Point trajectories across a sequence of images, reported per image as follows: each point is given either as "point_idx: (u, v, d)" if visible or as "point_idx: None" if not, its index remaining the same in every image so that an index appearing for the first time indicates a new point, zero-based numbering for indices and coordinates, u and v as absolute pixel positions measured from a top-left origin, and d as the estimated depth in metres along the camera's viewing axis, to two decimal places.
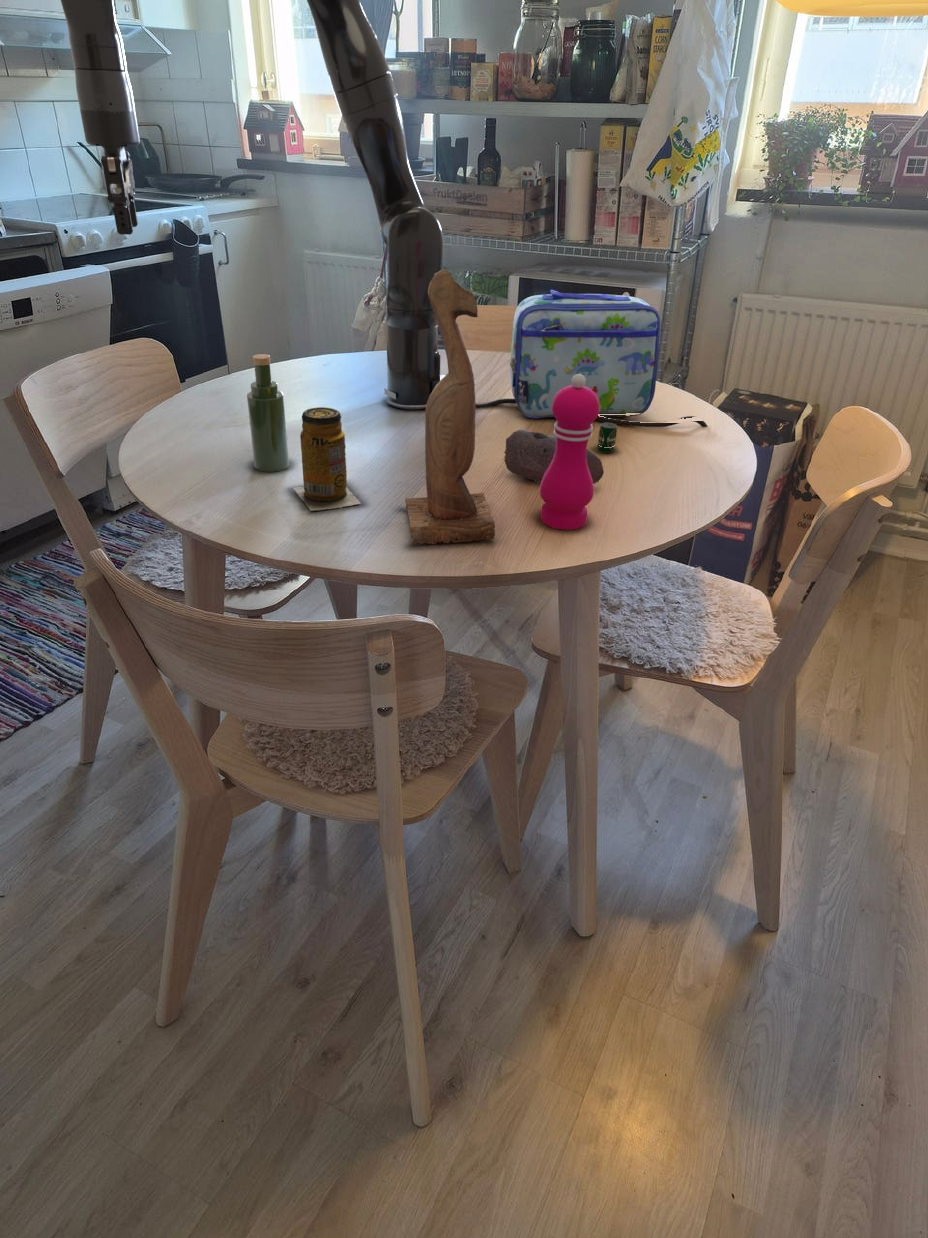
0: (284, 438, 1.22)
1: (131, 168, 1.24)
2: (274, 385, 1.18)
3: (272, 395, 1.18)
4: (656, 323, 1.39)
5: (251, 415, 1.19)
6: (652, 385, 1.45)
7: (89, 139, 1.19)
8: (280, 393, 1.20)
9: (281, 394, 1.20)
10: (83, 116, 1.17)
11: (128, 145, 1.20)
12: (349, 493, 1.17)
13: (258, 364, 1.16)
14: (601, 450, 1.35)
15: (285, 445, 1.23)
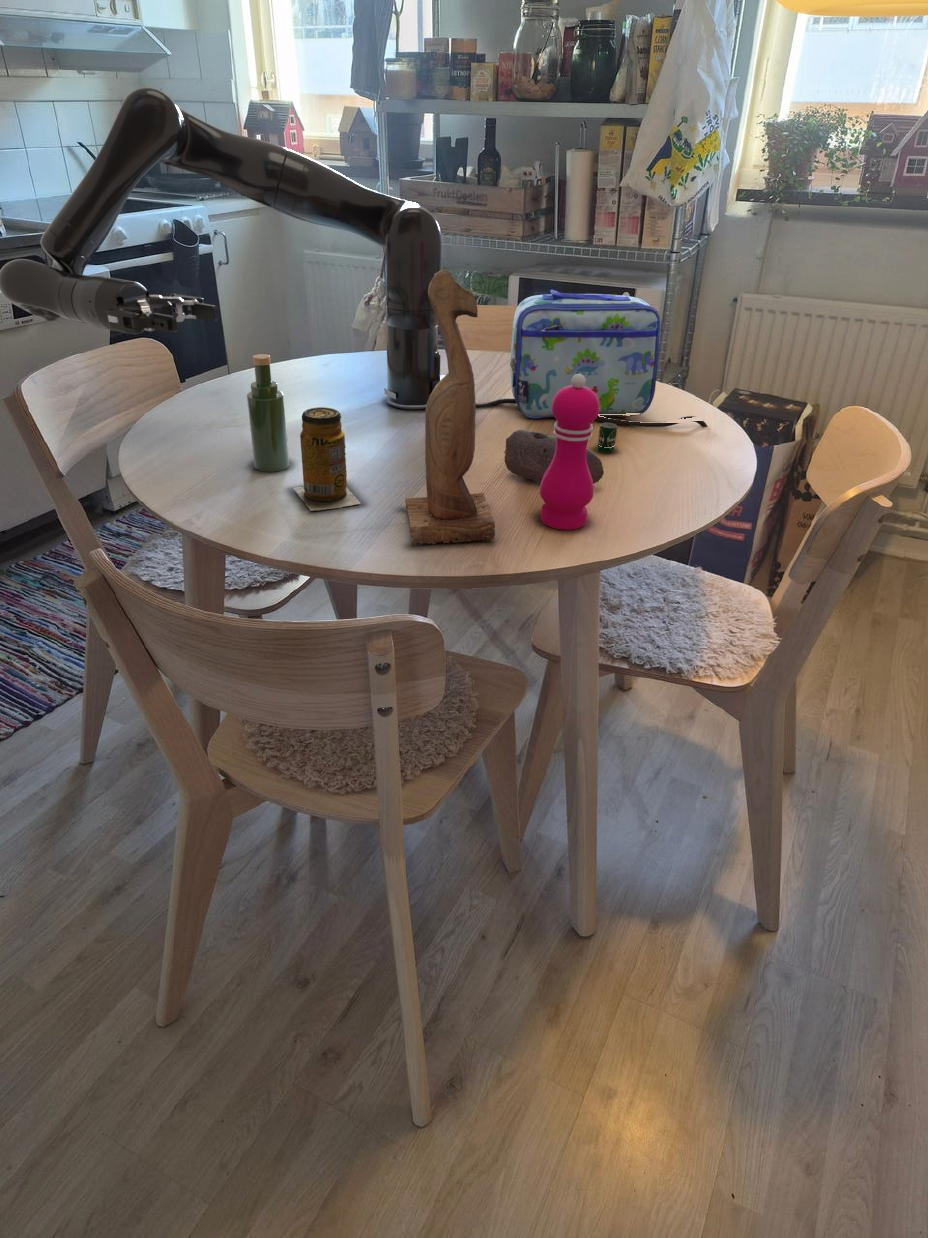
0: (284, 438, 1.22)
1: (154, 297, 1.21)
2: (274, 385, 1.18)
3: (272, 395, 1.18)
4: (656, 323, 1.39)
5: (251, 415, 1.19)
6: (652, 385, 1.45)
7: (124, 330, 1.23)
8: (280, 393, 1.20)
9: (281, 394, 1.20)
10: (112, 329, 1.24)
11: (119, 294, 1.19)
12: (349, 493, 1.17)
13: (258, 364, 1.16)
14: (601, 450, 1.35)
15: (285, 445, 1.23)
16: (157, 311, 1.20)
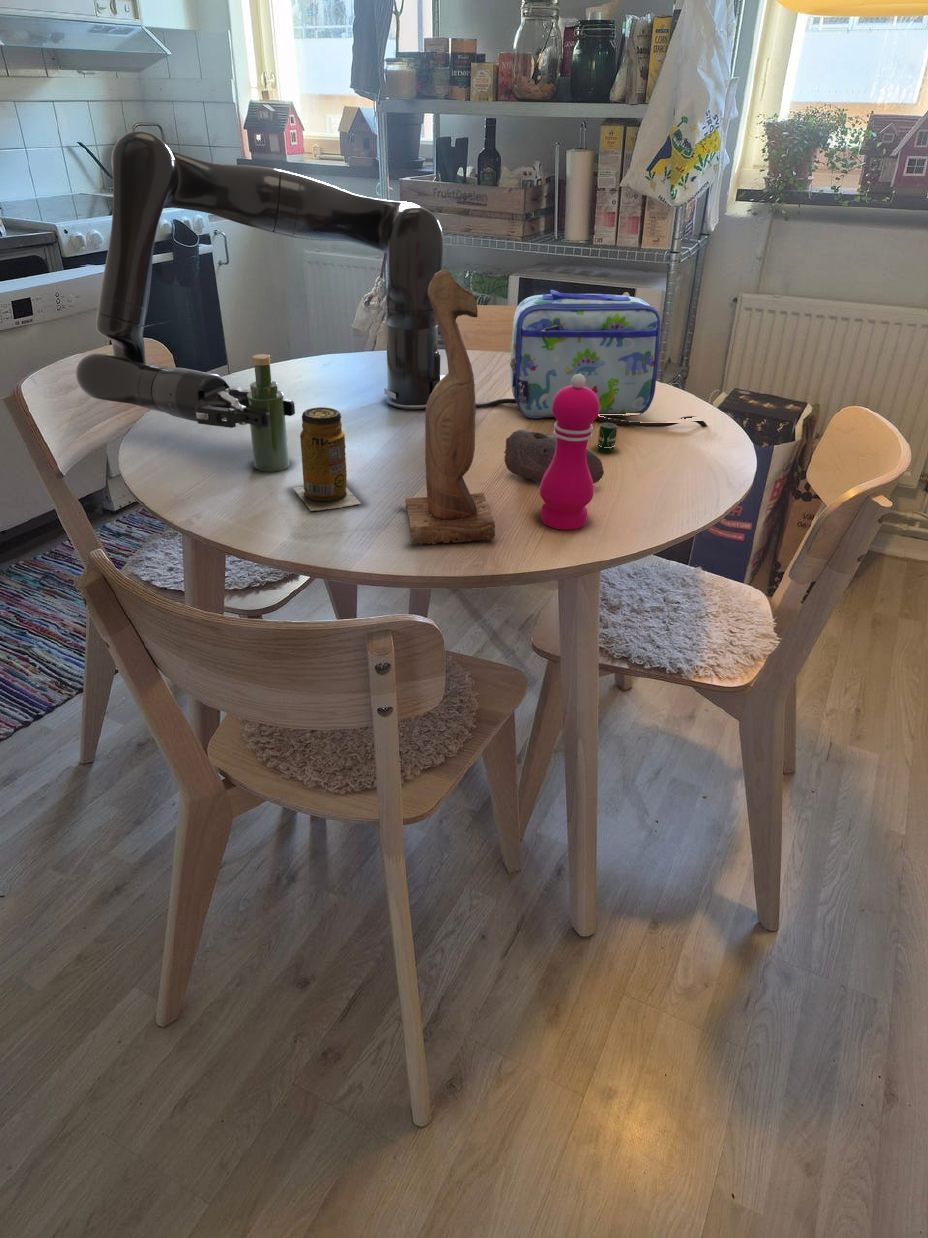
0: (284, 438, 1.22)
1: (232, 389, 1.23)
2: (274, 385, 1.18)
3: (272, 395, 1.18)
4: (656, 323, 1.39)
5: None
6: (652, 385, 1.45)
7: None
8: (280, 393, 1.20)
9: (281, 394, 1.20)
10: None
11: (200, 389, 1.21)
12: (349, 493, 1.17)
13: (258, 364, 1.16)
14: (601, 450, 1.35)
15: (285, 445, 1.23)
16: None
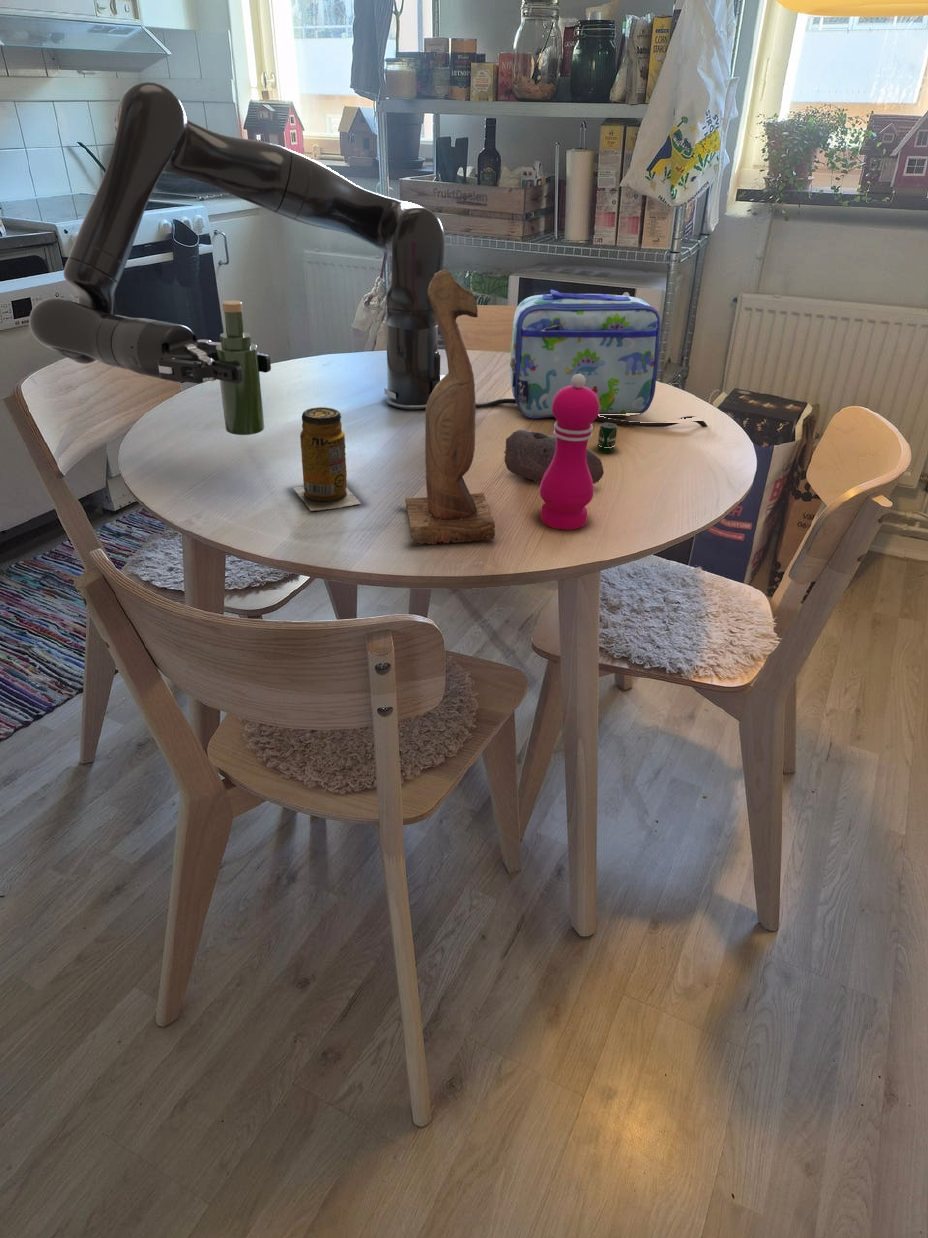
0: (258, 397, 1.09)
1: (201, 342, 1.10)
2: (247, 336, 1.05)
3: (244, 347, 1.05)
4: (656, 323, 1.39)
5: None
6: (652, 385, 1.45)
7: None
8: (254, 346, 1.07)
9: (255, 347, 1.07)
10: None
11: (165, 340, 1.08)
12: (349, 493, 1.17)
13: (228, 311, 1.03)
14: (601, 450, 1.35)
15: (260, 405, 1.10)
16: None
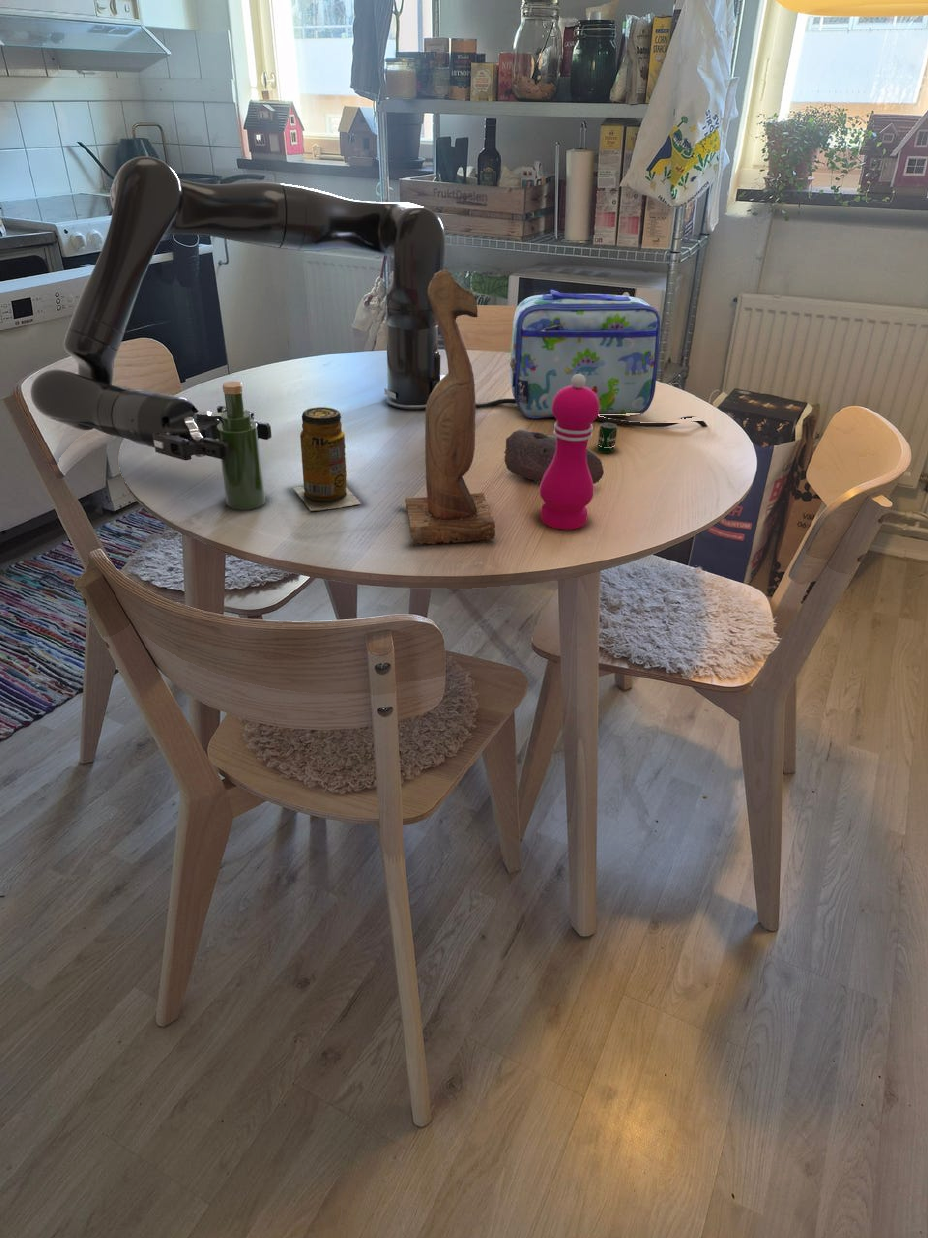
0: (258, 473, 1.11)
1: (202, 414, 1.11)
2: (247, 416, 1.07)
3: (244, 427, 1.07)
4: (656, 323, 1.39)
5: None
6: (652, 385, 1.45)
7: None
8: (254, 424, 1.09)
9: (255, 425, 1.08)
10: None
11: (165, 414, 1.09)
12: (349, 493, 1.17)
13: (228, 393, 1.05)
14: (601, 450, 1.35)
15: (260, 481, 1.12)
16: (206, 432, 1.10)
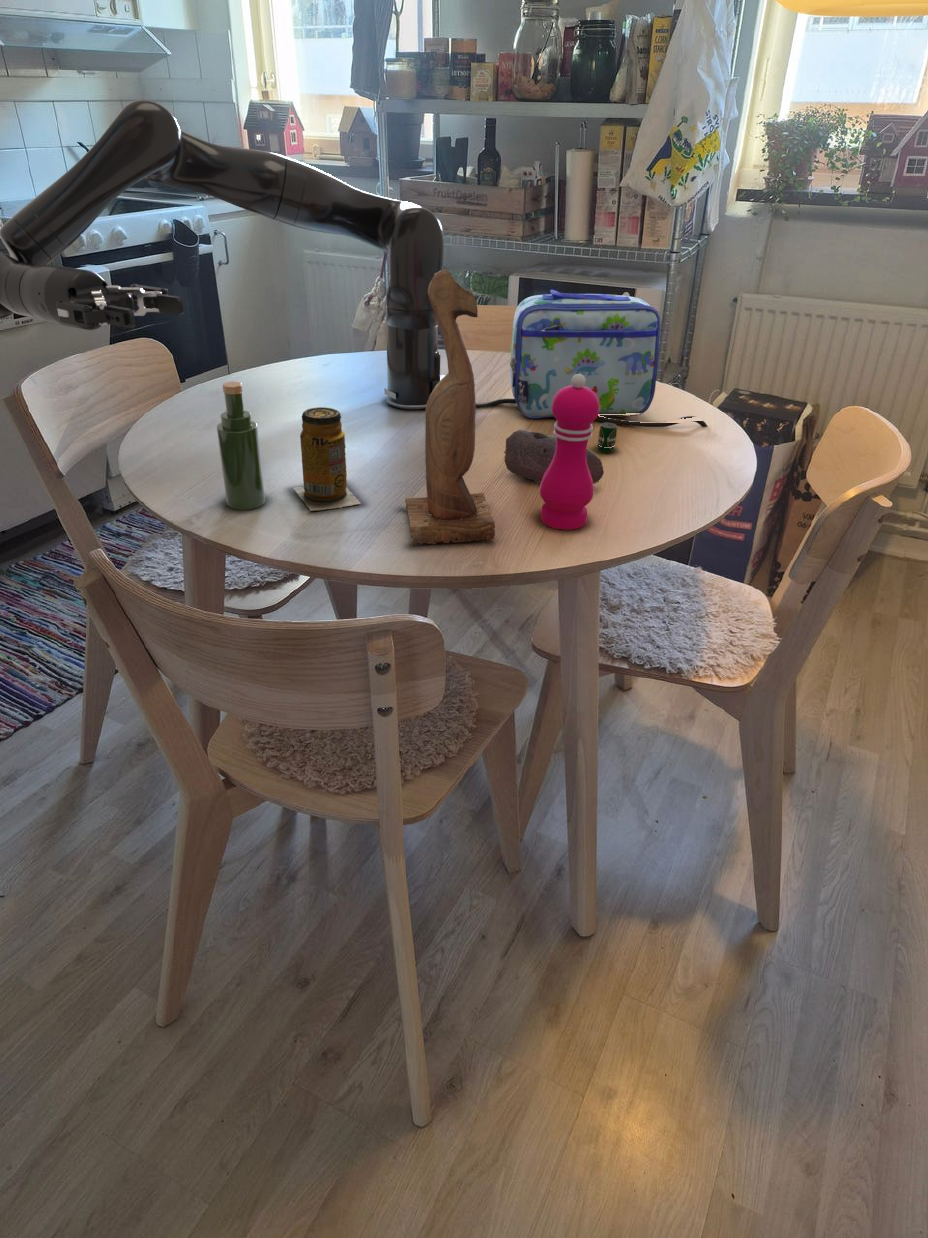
0: (258, 473, 1.11)
1: (111, 287, 1.08)
2: (247, 416, 1.07)
3: (244, 427, 1.07)
4: (656, 323, 1.39)
5: (222, 448, 1.08)
6: (652, 385, 1.45)
7: (78, 326, 1.09)
8: (254, 424, 1.09)
9: (255, 425, 1.08)
10: (66, 325, 1.11)
11: (71, 285, 1.06)
12: (349, 493, 1.17)
13: (228, 393, 1.05)
14: (601, 450, 1.35)
15: (260, 481, 1.12)
16: (114, 304, 1.06)
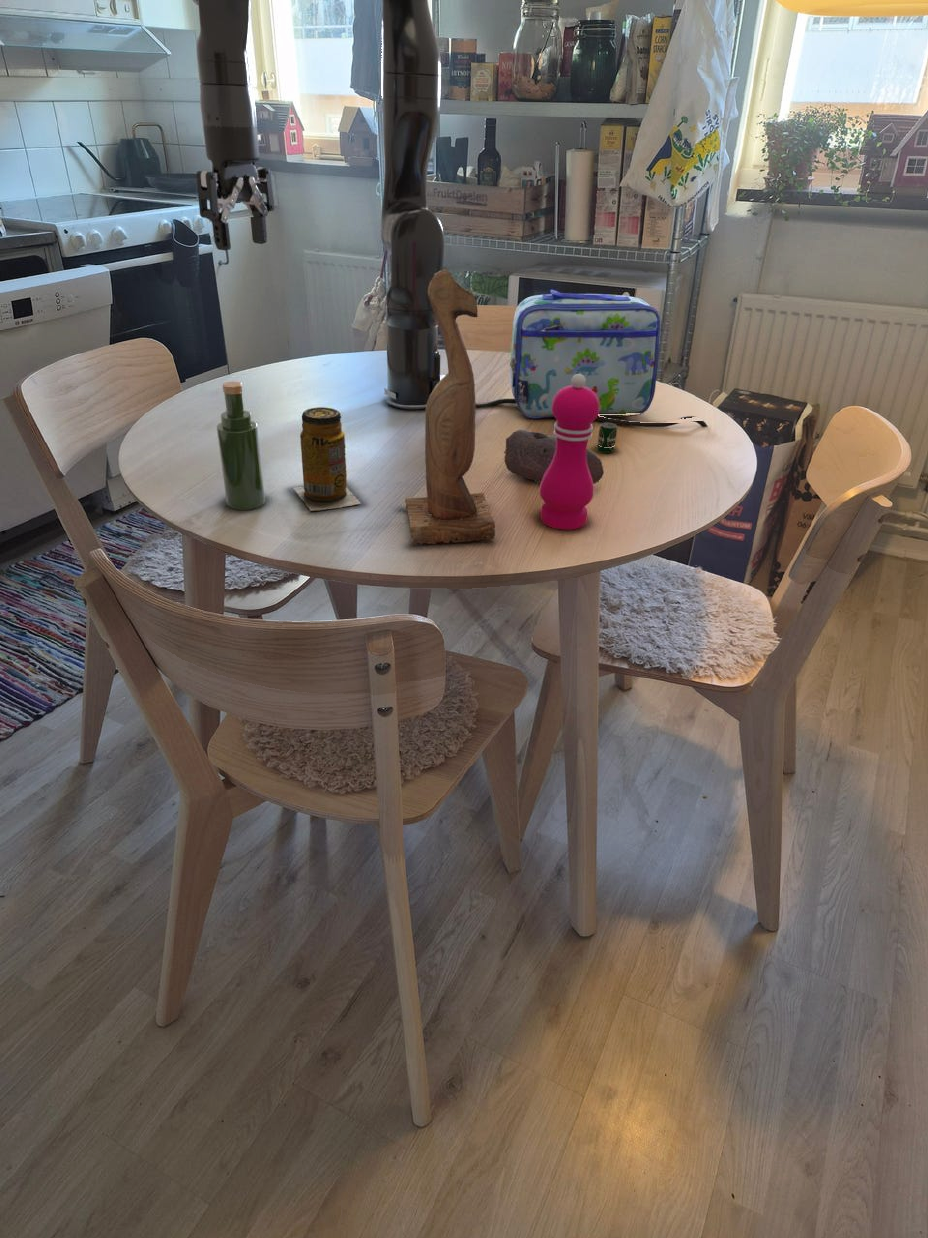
0: (258, 473, 1.11)
1: (250, 185, 1.21)
2: (247, 416, 1.07)
3: (244, 427, 1.07)
4: (656, 323, 1.39)
5: (222, 448, 1.08)
6: (652, 385, 1.45)
7: (206, 154, 1.18)
8: (254, 424, 1.09)
9: (255, 425, 1.08)
10: None
11: (234, 161, 1.17)
12: (349, 493, 1.17)
13: (228, 393, 1.05)
14: (601, 450, 1.35)
15: (260, 481, 1.12)
16: None
